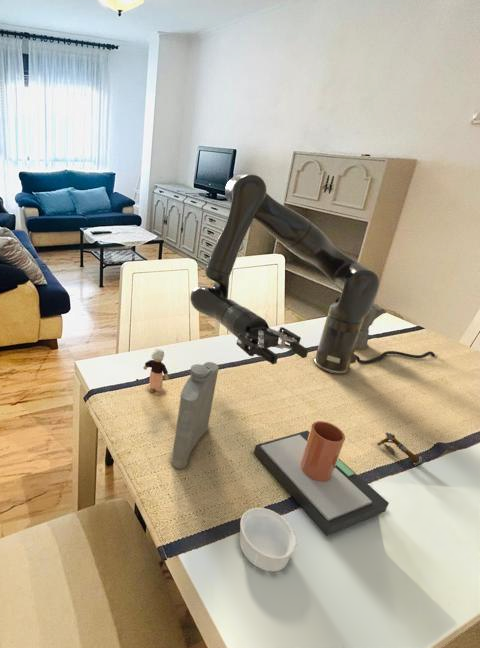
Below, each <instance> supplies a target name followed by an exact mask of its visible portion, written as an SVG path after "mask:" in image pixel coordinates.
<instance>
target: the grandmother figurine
mask: <svg viewBox="0 0 480 648" xmlns="http://www.w3.org/2000/svg"><path fill="white" fill-rule="evenodd" d="M150 356H151V359H150V360H148V361H146V362H144V366H143V370H146V371H147V370H148V368H151V369H150V373H149V385H148V386H149V387H148V392H150V393H153V392H154V393H155V395H157V396H161V395H163V394H165V392H166V391H165V389H164V388H163V380H165V381H169V380H170V377H169V372H168V369H167V367H166V364H164V363H163V360H164V357H165V352H164V350H163V349H161V348H156V349H155V350H153V352H152V353H151V355H150Z"/></svg>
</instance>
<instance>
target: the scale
mask: <svg viewBox="0 0 480 648" xmlns="http://www.w3.org/2000/svg"><path fill="white" fill-rule="evenodd" d="M309 433H310V430H304V431H300V432H297V433H293V434H289V435H286V436H282V437H279V438H276V439H272V440H269V441H265V442H260V443H258V444H255V446H254V450H253V455H254V456H255V457H256V458H257V459H258V460H259V461H260V462H261V463H262V465H263V466H264V467H265V468H266V469H267V470H268V471H269V472H270V474H272V476H273V477H274V478H275V479H276V480H277V481H278V482H279V484H280V485H281V486H282V487H283V489H285V490H286V492H287V493H288V495H290V496H291V497H292V498H293V499H294V500H295V502H296V503H297V504H298V505H299V506H300V507H301V508H302V510H303V511H304V512H305V513H306V514H307V515H308V517H309V518H310V519H311V521H313V522H314V523H315V524H316V526H317V527H318V528H319V529H320V530H321V531H322V532H323V533H324V535H325V536H326V537H329V536H330V535H333V534H336V533H337V532H338V533H339V532H340V531H342V530H345V529H347V528H350V527H352V526H355V525H357V524H359V523H361V522H364V521H366V520H369V519H371V518H373V517H376V516H377V515H381V514H383V513H385V512H386V511H387V508H388V506H389V504H390V502H388V501H387V500H386V499H385V497H383V496H382V495H381V494H380V493H378V491H376V490H375V489H374V488H373V487H372V486H371V485H369V484H368V483H367V482H366V481H365V480H364V479H363V478H362V477H360V476H359V475H358V474H357V473H356V472H355V471H353V469H352V468H350V467H349V466H348V465H347V464H346V463H345V462H344V461H342V460H341V459H340V457H339V458H338V460H337V463H336V466H335V469H334V472H333V475H332V477H331V479H330V480H329V481H326V482H319V481H316V480H313V479H311V478H310V477H308V476H307V475H306V474H305V473H304V472H303V471H302V469H301V467H300V463H301V459H302V455H303V452H304V449H305V446H306V442H307V439H308V436H309Z"/></svg>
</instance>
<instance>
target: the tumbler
mask: <svg viewBox="0 0 480 648" xmlns="http://www.w3.org/2000/svg"><path fill="white" fill-rule="evenodd" d="M309 432H310V433H309V436H308V439H307V442H306V446H305V449H304V452H303V455H302V459H301V463H300V467H301V469H302V471H303V472H304V473H305V474H306V475H307V476H308V477H310V478H311V479H313V480H316V481H319V482H326V481H329V480H330V479H331V477H332V475H333V472H334V469H335V466H336V463H337V460H338V458H339V459H340V455H341V453H342V450H343V446H344V444H345V441H346V436H345V433H344V432H343V430H342V429H340V428H339V427H338V426H337V425H335V424H332V423H331V422H327V421H324V420H323V421H322V420H318V421H317V420H316V421H314V422H313V423H311V427H310V429H309Z"/></svg>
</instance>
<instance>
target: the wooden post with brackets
mask: <svg viewBox="0 0 480 648" xmlns="http://www.w3.org/2000/svg"><path fill="white" fill-rule="evenodd" d="M384 434H385V435H386V437H385V438H383V439H381V440H379V441H378V442H377V443H376V445H377V446H384V447H385V450H386V451H388V452H389V453H390V454H393V455H394V454H395V453H396V452H395V448H392V446H391V445H390V444H394V445H395V447H396V448H398V450H400V452H402V453H404V454H405V455H406V456H407V457H408V458H409V459H410V460H411V461H412V462H413V465H414V467H416V466H418V465H419V464H421V463H422V461H423V457H422V456H418V455H416V454H415V453H413V452H411V451H410V450H409V449H408V448H407V447H406V446H405V445H404V444H403V443H402V442H400V441H399V440H398V439H397V438H396V435H395V434H392V433H391V432H388V431H386V432H385V433H384ZM387 443H388V444H389V443H390V444H389V445H388V444H387Z"/></svg>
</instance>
